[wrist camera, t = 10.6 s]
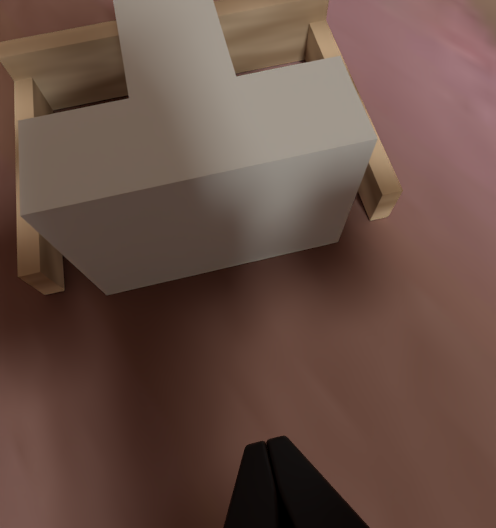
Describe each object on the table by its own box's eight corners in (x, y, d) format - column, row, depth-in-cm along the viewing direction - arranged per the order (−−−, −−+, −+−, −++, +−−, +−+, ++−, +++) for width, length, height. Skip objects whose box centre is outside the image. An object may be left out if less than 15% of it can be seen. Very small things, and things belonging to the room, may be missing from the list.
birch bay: (388, 216, 22) (413, 171, 18) (44, 294, 21) (-3, 263, 17) (314, 43, 27) (323, -20, 23) (35, 99, 26) (-2, 42, 22)
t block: (338, 242, 21) (377, 138, 14) (106, 295, 21) (20, 215, 13) (278, 74, 26) (284, -70, 19) (86, 113, 25) (15, -21, 18)
